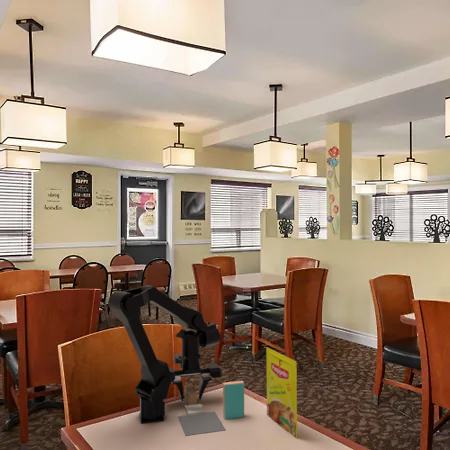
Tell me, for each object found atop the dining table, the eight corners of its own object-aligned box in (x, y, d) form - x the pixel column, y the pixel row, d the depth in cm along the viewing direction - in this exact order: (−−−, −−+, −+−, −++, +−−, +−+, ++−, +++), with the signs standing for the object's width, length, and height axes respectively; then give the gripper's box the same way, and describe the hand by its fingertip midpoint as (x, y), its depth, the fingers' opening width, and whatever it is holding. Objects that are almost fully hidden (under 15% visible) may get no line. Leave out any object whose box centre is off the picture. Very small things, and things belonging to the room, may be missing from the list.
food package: (265, 415, 124) (264, 347, 125) (268, 414, 125) (268, 346, 125) (295, 439, 110) (294, 361, 111) (298, 438, 111) (298, 361, 111)
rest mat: (185, 436, 112) (185, 435, 112) (178, 417, 124) (178, 416, 124) (225, 430, 115) (225, 429, 115) (214, 412, 127) (214, 411, 127)
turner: (180, 398, 137) (180, 385, 138) (195, 396, 139) (195, 384, 139) (188, 415, 124) (188, 401, 124) (205, 413, 125) (205, 399, 125)
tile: (224, 419, 122) (224, 384, 122) (223, 417, 123) (222, 382, 123) (244, 417, 123) (244, 382, 123) (242, 414, 125) (242, 380, 125)
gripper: (213, 341, 144) (213, 387, 143) (157, 345, 139) (158, 393, 139) (222, 350, 133) (222, 400, 133) (162, 355, 128) (162, 407, 128)
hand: (191, 400), depth 133 cm, fingers open, 5 cm apart
